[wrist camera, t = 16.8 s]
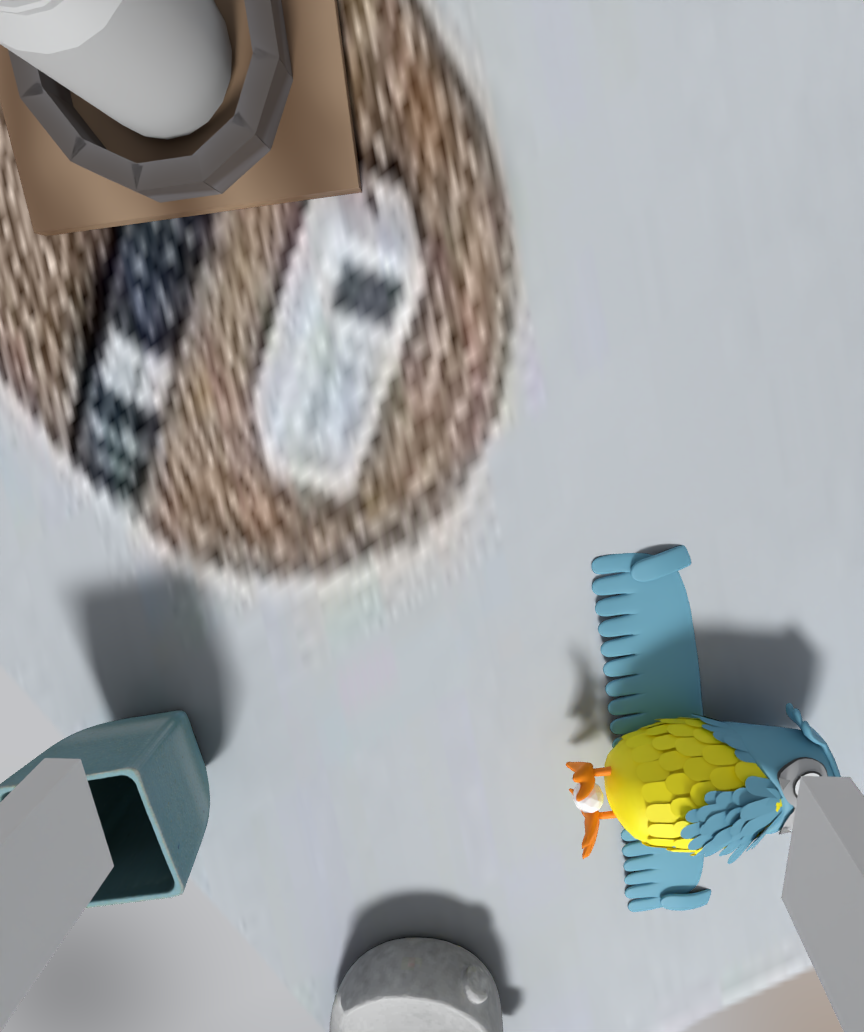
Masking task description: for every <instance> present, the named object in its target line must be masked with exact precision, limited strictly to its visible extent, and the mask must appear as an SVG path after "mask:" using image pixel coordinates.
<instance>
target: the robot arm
mask: <svg viewBox="0 0 864 1032" xmlns="http://www.w3.org/2000/svg"><path fill="white" fill-rule="evenodd" d="M113 867H114V864H113V861H112V858H111V855H110V851H109V848H108V845H107V842H106V839H105V835H104V832H103V829H102V826H101V822H100V819H99V816H98V813H97V810H96V806H95V803H94V800H93V797H92V794H91V790H90V787H89V784H88V781H87V777H86V774H85V771H84V768H83V765H82V761H81V759H65V758H44V759H43V760H42V761H41V762H40V763H39V764H38V765H37V766H36V767H35V768H34V769H33V770H32V771H31V772H30V773H29V774H28V775H27V776H26V777H25V778H24V779H23V780H22V781H21V782H20V783H19V784H18V785H17V786H16V787H15V788H14V789H13V790H12V791H11V792H10V793H9V794H8V795H7V796H6V797H5V798H4V799H3V800H2V801H1V802H0V1032H1V1031H2V1029H3V1028H4V1026H5V1025H6V1023H7V1022H8V1020H9V1019H10V1018H11V1016H12V1015H13V1013H14V1012H15V1010H16V1009H17V1007H18V1006H19V1005H20V1003H21V1002H22V1000H23V999H24V997H25V996H26V994H27V993H28V991H29V990H30V988H31V987H32V986H33V984H34V983H35V981H36V980H37V978H38V977H39V975H40V974H41V972H42V971H43V969H44V968H45V967H46V965H47V964H48V962H49V961H50V959H51V958H52V956H53V955H54V953H55V952H56V950H57V949H58V947H59V946H60V945H61V943H62V942H63V940H64V939H65V937H66V936H67V934H68V933H69V931H70V930H71V929H72V927H73V926H74V924H75V923H76V921H77V920H78V918H79V917H80V915H81V914H82V912H83V911H84V909H85V908H86V907H87V905H88V904H89V902H90V901H91V899H92V898H93V896H94V895H95V893H96V892H97V891H98V889H99V888H100V886H101V885H102V883H103V882H104V880H105V879H106V877H107V876H108V874H109V873H110V872H111V870H112V869H113ZM781 898H782V900H783V902H784V904H785V906H786V909H787V911H788V913H789V915H790V917H791V919H792V921H793V924H794V926H795V928H796V930H797V932H798V934H799V937H800V939H801V941H802V943H803V945H804V947H805V949H806V952H807V954H808V956H809V958H810V960H811V962H812V964H813V967H814V969H815V971H816V973H817V975H818V977H819V980H820V982H821V984H822V986H823V988H824V990H825V992H826V995H827V997H828V999H829V1001H830V1003H831V1005H832V1008H833V1010H834V1012H835V1014H836V1016H837V1018H838V1020H839V1023H840V1025H841V1027H842V1029H843V1031H844V1032H864V796H863V794H862V793H861V792H860V790H859V789H858V787H857V786H856V785H855V783H854V782H853V781H852V779H851V778H850V777H825V776H801V778H800V785H799V791H798V797H797V803H796V810H795V816H794V822H793V828H792V835H791V841H790V847H789V853H788V859H787V866H786V872H785V878H784V884H783V891H782V897H781Z"/></svg>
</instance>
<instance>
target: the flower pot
mask: <svg viewBox="0 0 864 1032" xmlns="http://www.w3.org/2000/svg"><path fill="white" fill-rule="evenodd" d="M44 758H65V759H81V761H82V765H83V768H84V771H85V774H86V777H87V781H88V784H89V787H90V790H91V794H92V797H93V800H94V803H95V806H96V810H97V813H98V816H99V819H100V822H101V826H102V829H103V832H104V835H105V839H106V842H107V845H108V848H109V851H110V855H111V858H112V861H113V864H114V867H113V869H112V870H111V872H110V873H109V874H108V876H107V877H106V879H105V880H104V882H103V883H102V885H101V886H100V888H99V889H98V891H97V892H96V893H95V895H94V896H93V898H92V899H91V901H90V902H89V904H88V905H87V907H86V908H90V907H99V906H106V905H113V904H123V903H130V902H140V901H146V900H154V899H164V898H171V897H174V896H179V895H181V894H182V893H183V892H184V889H185V886H186V883H187V880H188V878H189V875H190V872H191V870H192V867H193V864H194V861H195V859H196V856H197V853H198V850H199V847H200V844H201V842H202V839H203V836H204V833H205V829H206V826H207V822H208V817H209V808H210V793H209V783H208V777H207V771H206V767H205V764H204V761H203V758H202V756H201V753H200V750H199V747H198V745H197V742H196V739H195V736H194V733H193V730H192V727H191V724H190V721H189V719H188V716H187V714H186V713H185V712H184V711H181V710H177V711H170V712H164V713H158V714H152V715H146V716H139V717H132V718H126V719H121V720H117V721H112V722H107V723H103V724H99V725H96V726H93V727H90V728H87V729H84V730H82V731H79V732H77V733H75V734H73V735H70V736H68V737H66V738H65V739H63V740H61V741H60V742H58V743H56V744H55V745H53V746H52V747H50V748H49V749H47V750H46V751H45V752H43V753H42V754H41V755H39V756H38V757H36V758H35V759H34V760H32V761H31V762H30V763H28V764H27V765H25V766H24V767H23V768H21V769H20V770H19V771H17V772H16V773H15V774H13V775H12V776H10V777H9V778H8V779H6V780H5V781H4V782H2V783H1V784H0V802H1V801H2V800H3V799H4V798H5V797H6V796H7V795H8V794H9V793H10V792H11V791H12V790H13V789H14V788H15V787H16V786H17V785H18V784H19V783H20V782H21V781H22V780H23V779H24V778H25V777H26V776H27V775H28V774H29V773H30V772H31V771H32V770H33V769H34V768H35V767H36V766H37V765H38V764H39V763H40V762H41V761H42V760H43V759H44Z"/></svg>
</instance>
